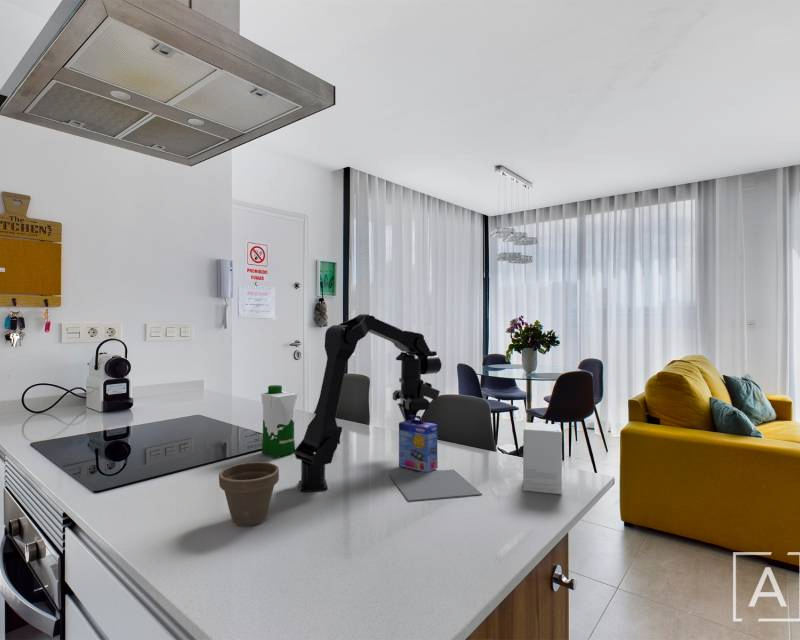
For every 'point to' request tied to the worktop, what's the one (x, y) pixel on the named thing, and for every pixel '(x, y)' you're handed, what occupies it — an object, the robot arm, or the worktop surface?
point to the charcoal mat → (433, 485)
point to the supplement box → (542, 458)
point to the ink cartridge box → (418, 445)
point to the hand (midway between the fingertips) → (409, 429)
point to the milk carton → (278, 422)
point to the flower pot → (249, 490)
